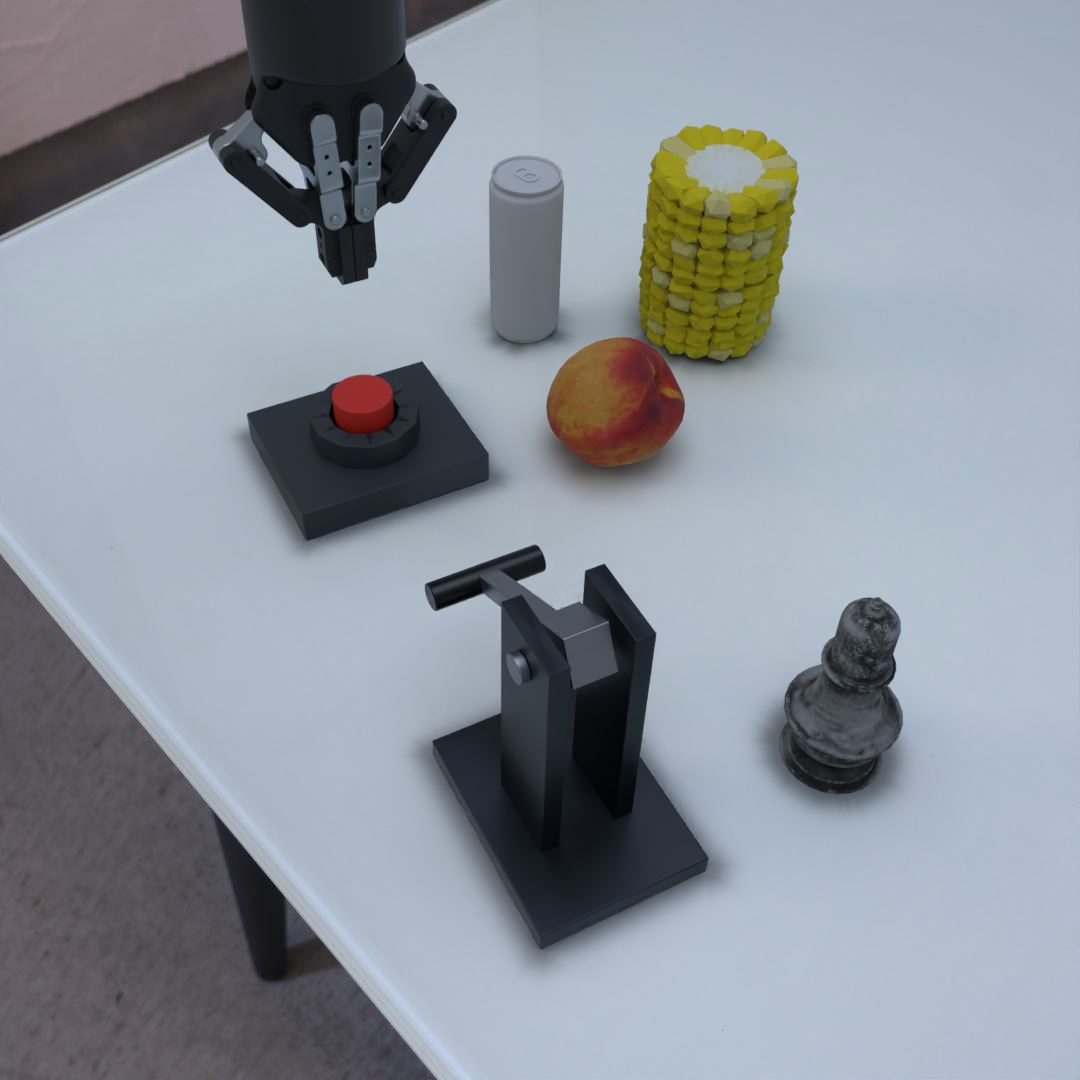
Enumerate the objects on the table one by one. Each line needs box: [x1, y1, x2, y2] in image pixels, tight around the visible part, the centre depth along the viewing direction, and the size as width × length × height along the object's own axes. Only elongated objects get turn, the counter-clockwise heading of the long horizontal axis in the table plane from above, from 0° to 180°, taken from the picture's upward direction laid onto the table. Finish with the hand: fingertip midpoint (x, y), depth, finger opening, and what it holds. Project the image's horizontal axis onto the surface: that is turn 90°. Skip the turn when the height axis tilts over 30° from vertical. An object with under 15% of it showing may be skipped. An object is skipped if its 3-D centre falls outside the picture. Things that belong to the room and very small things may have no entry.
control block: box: [246, 360, 490, 541], centre depth 81 cm, size 12×10×4 cm
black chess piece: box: [779, 596, 904, 795], centre depth 64 cm, size 6×6×12 cm
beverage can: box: [488, 154, 565, 344], centre depth 88 cm, size 5×5×12 cm
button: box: [332, 374, 394, 434], centre depth 79 cm, size 4×4×2 cm
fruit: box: [545, 336, 686, 468], centre depth 80 cm, size 8×8×8 cm
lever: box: [424, 544, 618, 690], centre depth 60 cm, size 12×6×2 cm, turn 28°
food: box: [638, 123, 800, 362], centre depth 87 cm, size 15×12×10 cm
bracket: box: [431, 563, 710, 950], centre depth 60 cm, size 12×9×15 cm
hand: (348, 274), depth 72 cm, fingers closed
